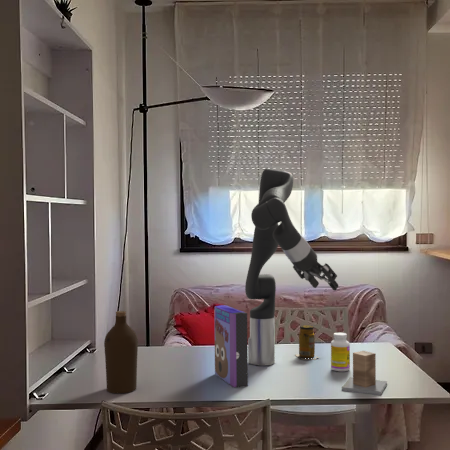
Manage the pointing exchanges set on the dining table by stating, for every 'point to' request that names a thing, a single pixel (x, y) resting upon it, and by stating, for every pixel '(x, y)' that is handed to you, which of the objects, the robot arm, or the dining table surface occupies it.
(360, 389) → the slate tile
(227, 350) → the cereal box
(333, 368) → the supplement bottle
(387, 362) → the dining table surface
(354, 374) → the walnut block
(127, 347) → the olive oil
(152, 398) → the dining table surface
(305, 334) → the condiment
